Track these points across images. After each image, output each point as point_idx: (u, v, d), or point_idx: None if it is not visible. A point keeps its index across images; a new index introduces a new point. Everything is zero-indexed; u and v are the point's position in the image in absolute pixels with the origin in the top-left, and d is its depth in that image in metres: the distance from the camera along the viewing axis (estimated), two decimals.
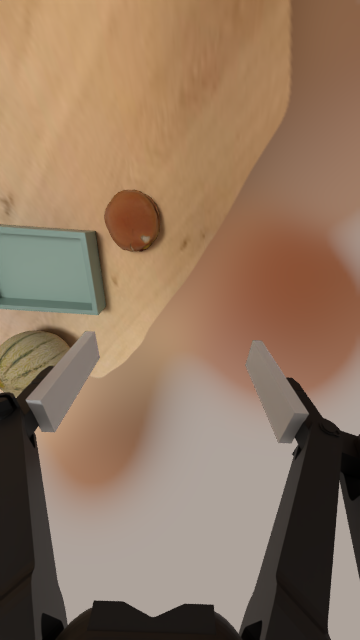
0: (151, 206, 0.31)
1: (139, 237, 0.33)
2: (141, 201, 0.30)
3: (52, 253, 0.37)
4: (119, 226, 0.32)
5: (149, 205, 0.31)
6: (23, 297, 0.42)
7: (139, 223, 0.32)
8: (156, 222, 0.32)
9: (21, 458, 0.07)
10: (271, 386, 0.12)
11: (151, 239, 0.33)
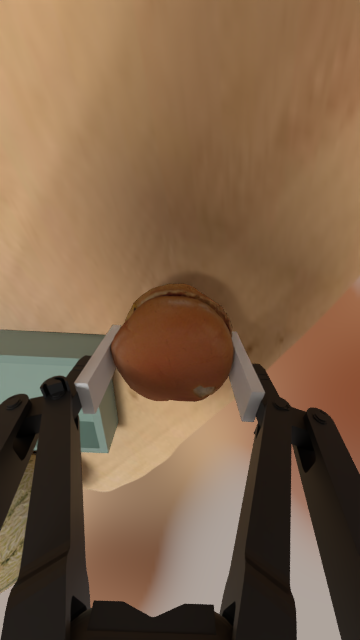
0: (226, 332, 0.13)
1: (191, 390, 0.14)
2: (205, 328, 0.12)
3: (35, 365, 0.23)
4: (146, 377, 0.13)
5: (222, 333, 0.13)
6: None
7: (194, 370, 0.13)
8: (232, 360, 0.14)
9: (67, 439, 0.08)
10: (238, 371, 0.13)
11: (216, 389, 0.15)
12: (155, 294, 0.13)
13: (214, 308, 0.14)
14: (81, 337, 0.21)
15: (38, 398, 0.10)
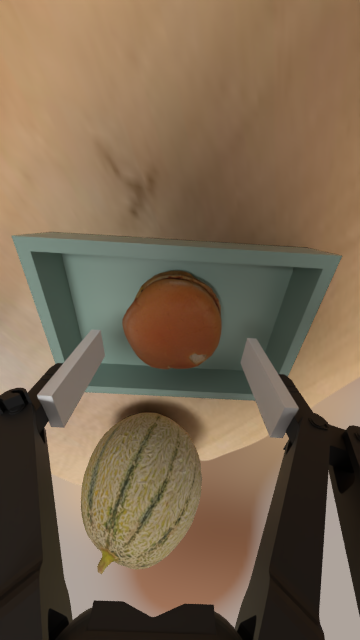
0: (214, 308, 0.16)
1: (187, 357, 0.18)
2: (198, 303, 0.15)
3: None
4: (151, 344, 0.16)
5: (212, 308, 0.16)
6: (125, 362, 0.24)
7: (189, 338, 0.17)
8: (220, 332, 0.17)
9: (32, 453, 0.07)
10: (264, 382, 0.12)
11: (207, 357, 0.18)
12: (159, 278, 0.17)
13: (206, 290, 0.17)
14: (284, 247, 0.17)
15: None
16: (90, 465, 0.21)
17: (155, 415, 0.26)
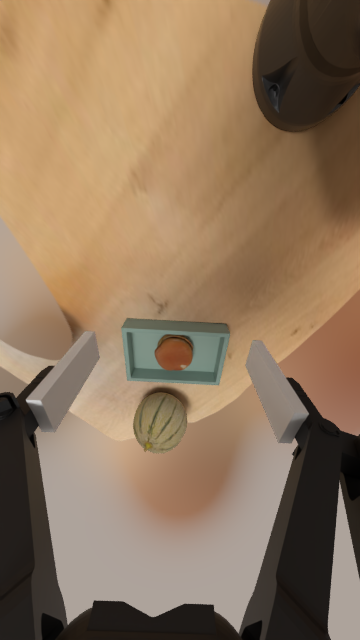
0: (189, 348, 0.44)
1: (179, 366, 0.45)
2: (183, 347, 0.43)
3: None
4: (165, 361, 0.44)
5: (188, 348, 0.43)
6: (151, 368, 0.51)
7: (180, 359, 0.44)
8: (192, 356, 0.45)
9: (21, 458, 0.07)
10: (271, 386, 0.12)
11: (187, 366, 0.46)
12: (168, 336, 0.44)
13: (186, 340, 0.44)
14: (216, 324, 0.44)
15: None
16: (137, 413, 0.49)
17: (165, 393, 0.54)
